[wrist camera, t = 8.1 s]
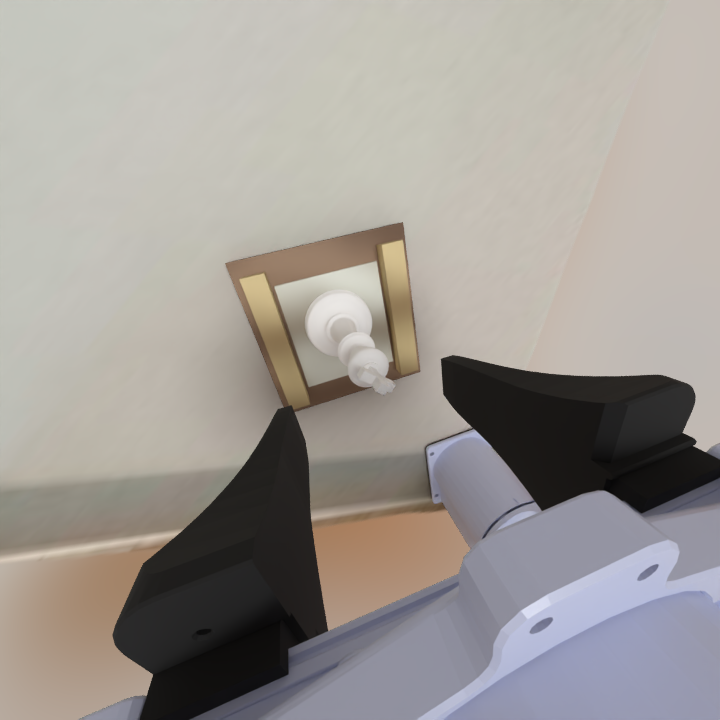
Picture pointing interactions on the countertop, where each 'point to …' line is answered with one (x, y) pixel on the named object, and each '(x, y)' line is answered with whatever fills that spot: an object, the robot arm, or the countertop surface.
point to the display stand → (308, 281)
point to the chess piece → (348, 337)
